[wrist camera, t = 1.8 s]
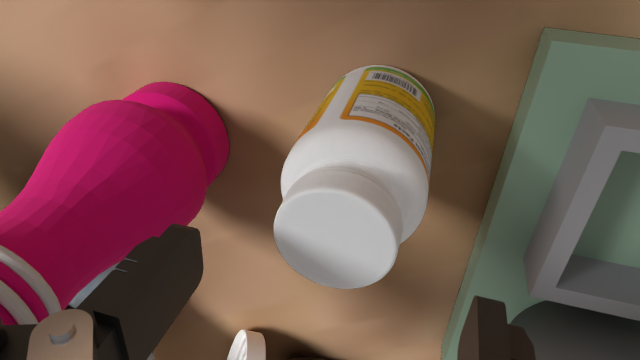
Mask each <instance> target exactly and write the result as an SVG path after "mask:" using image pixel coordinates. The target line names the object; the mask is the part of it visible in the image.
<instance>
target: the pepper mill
mask: <svg viewBox="0 0 640 360" xmlns="http://www.w3.org/2000/svg"><path fill="white" fill-rule="evenodd" d="M228 156H229V140H228V135H227V131H226V129H225V126H224V124H223V122H222V120H221V118H220V117H219V115H218V113H217V112H216V110H215V109H214V108H213V107H212V106H211V105H210V104H209V103H208V102H207V101H206V100H205V99H204V98H203V97H202V96H201V95H199V94H198V93H196V92H194V91H192V90H190V89H189V88H187V87H185V86H182V85H178V84H175V83H170V82H155V83H151V84H148V85H146V86H144V87H142V88H140V89H139V90H137V91H135V92H134V93H132V94H130V95H129V96H127V97H126V98H124V99H123V100H110V101H103V102H100V103H97V104H94V105H91V106H89V107H88V108H86V109H84V110H83V111H82V112H80V113H79V114H77V115H76V116H75V117H73V118H72V119H71V120H69V121H68V122H67V123H66V124H65V125H64V126H63V127H62V128H61V130H60V131H59V132H58V133H57V134H56V136H55V137H54V138H53V139H52V141H51V142H50V144H49V145H48V147H47V148H46V150H45V152H44V154H43V156H42V158H41V159H40V161H39V163H38V165H37V167H36V169H35V170H34V172H33V174H32V176H31V177H30V179H29V181H28V182H27V184H26V186H25V187H24V189H23V190H22V191H21V192H20V193H19V195H18V196H17V197H16V198H15V199H14V200H13V201H12V203H11V204H9V205H8V206H7V207H6V208H4V209H3V210H2V211H1V212H0V318H1V320H2V323H3V325H23V324H38V323H40V322H41V321H42V320H43V319H45V318H46V317H48V316H49V315H51V314H53V313H56V312H58V311H62V310H64V309H65V308H66V307H67V306H68V304H69V303H70V302H71V301H72V300H73V298H74V297H75V296H76V295H77V294H78V293H79V292H80V291H81V290H82V289H83V288H84V287H85V286H87V285H88V284H89V283H90V282H91V281H92V280H93V279H95V278H96V277H97V276H98V275H99V274H101V273H102V272H104V271H105V270H107V269H108V268H110V267H112V266H113V265H115V264H116V263H119V262H121V261H122V260H124V259H125V257H126V255H127V254H128V253H129V252H130V251H131V250H132V249H133V248H134V247H135V246H136V245H138V244H139V243H141V242H143V241H145V240H146V239H148V238H150V237H152V236H155V237H160V236H161V235H162V233H163V232H164V231H165V230H166V229H167V228H168V227H169V226H170V225H171V224H173V223H175V224H180V225H184V226H187V225H188V224H189V223H190V222H191V221H192V220H193V219H194V218H195V217H196V215H197V214H198V212H199V211H200V209H201V207H202V205H203V203H204V199H205V195H206V188H207V187H208V186H209V185H210V184H211V183H212V182H213V180H214V179H215V178H216V177H217V176H218V175H219V173H220V172H221V171H222V170H223V168H224V167H225V164H226V162H227V160H228Z"/></svg>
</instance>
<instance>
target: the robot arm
mask: <svg viewBox="0 0 640 360" xmlns="http://www.w3.org/2000/svg"><path fill="white" fill-rule="evenodd" d="M202 274H203V257H202V247H201V237H200V232H199V230H198V229H196V228H192V227H188V226H184V225H180V224H175V223H173V224H171V225H170V226H169V227H168V228H167V229H166V230H165V231H164V232H163V233H162V235H161V236H160V237H155V236H152V237H150V238H148V239H146V240H145V241H143V242H141V243H139V244H138V245H136V246H135V247H134V248H133V249H132V250H131V251H130V252H129V253H128V254H127V255H126V257H125V259H124V260H122V261H121V262H120V263H119V264H118V265H117V266H116V267H115V270H112V271H111V272H110V273H109V274H108V275H107V276H106V277H105V278H104V280H103V281H102V282H101V283H100V284H99V285H98V286H97V287H96V288H95V289H94V290H93V291H92V292H91V293H90V294H89V295H88V296H87V297H86V298H85V299H84V300H83V301H82V303H81V304H80V305H79V306H78V307H77V308H75V309H67V310H62V311H58V312H56V313H53V314H51V315H49V316H48V317H46V318H45V319H43V320H42V321H41V322H40V323H38V324H23V325H3V323H2V320H1V318H0V360H147V359H148V357H149V356H150V354H151V353H152V351H153V350H154V348H155V347H156V346H157V344H158V343H159V341H160V340H161V338H162V337H163V336H164V334H165V333H166V331H167V330H168V328H169V327H170V325H171V324H172V323H173V321H174V320H175V318H176V317H177V315H178V314H179V313H180V311H181V310H182V308H183V307H184V305H185V304H186V302H187V301H188V300H189V298H190V297H191V295H192V294H193V292H194V291H195V290H196V288H197V287H198V285H199V283H200V281H201V278H202ZM457 360H536V357H535V350H534V345H533V344H532V342H531V340H530V339H529V337H528V335H527V334H526V332H525V330H524V329H523V327H519V326H515V325H511V324H507V314H506V305H505V303H504V302H502V301H498V300H494V299H489V298H485V297H481V296H477V295H475V296H474V298H473V300H472V303H471V306H470V309H469V311H468V314H467V317H466V320H465V323H464V326H463V329H462V331H461V335H460V339H459V345H458V353H457Z"/></svg>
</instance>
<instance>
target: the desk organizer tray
mask: <svg viewBox="0 0 640 360" xmlns="http://www.w3.org/2000/svg"><path fill="white" fill-rule="evenodd" d="M475 295H477V296H481V297H485V298H489V299H494V300H498V301H502V302H504V303H505V305H506V314H507V324H511V325H515V326H519V327H523V329H524V330H525V332H526V334H527V335H528V337H529V339H530V340H531V342H532V344H533V345H534V350H535V357H536V360H640V39H638V38H629V37H621V36H612V35H604V34H596V33H587V32H579V31H570V30H562V29H553V28H545V27H544V29H543V32H542V35H541V38H540V42H539V45H538V48H537V51H536V54H535V57H534V60H533V63H532V66H531V70H530V73H529V76H528V79H527V82H526V85H525V88H524V91H523V94H522V98H521V101H520V104H519V107H518V110H517V113H516V116H515V119H514V122H513V125H512V129H511V132H510V135H509V138H508V141H507V144H506V147H505V150H504V153H503V157H502V160H501V163H500V166H499V169H498V172H497V175H496V178H495V181H494V185H493V188H492V191H491V194H490V197H489V200H488V203H487V206H486V209H485V212H484V216H483V219H482V222H481V225H480V228H479V231H478V234H477V237H476V240H475V244H474V247H473V250H472V253H471V256H470V259H469V262H468V265H467V268H466V272H465V275H464V278H463V281H462V284H461V287H460V290H459V293H458V296H457V299H456V303H455V306H454V309H453V312H452V315H451V318H450V321H449V324H448V327H447V331H446V334H445V337H444V340H443V343H442V347H441V360H457V353H458V345H459V339H460V335H461V331H462V329H463V326H464V323H465V320H466V317H467V314H468V311H469V309H470V306H471V303H472V300H473V298H474V296H475Z"/></svg>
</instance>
